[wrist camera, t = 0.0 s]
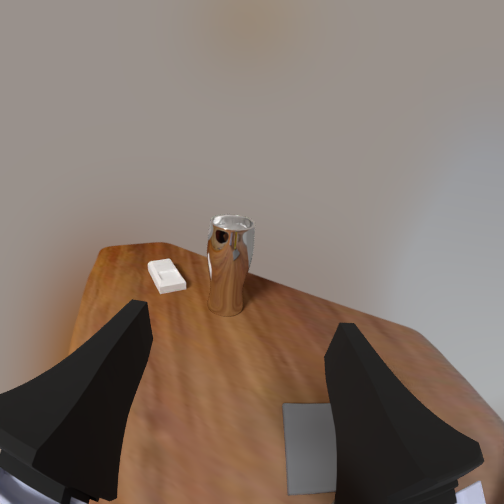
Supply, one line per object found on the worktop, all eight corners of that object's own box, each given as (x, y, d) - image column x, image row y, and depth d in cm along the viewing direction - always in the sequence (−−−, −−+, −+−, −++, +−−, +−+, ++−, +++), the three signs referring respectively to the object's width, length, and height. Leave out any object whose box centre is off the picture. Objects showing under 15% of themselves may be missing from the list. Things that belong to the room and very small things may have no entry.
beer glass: (252, 314, 46) (265, 229, 40) (211, 321, 43) (217, 231, 37) (236, 291, 52) (245, 213, 45) (199, 296, 49) (203, 214, 42)
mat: (400, 478, 20) (403, 476, 19) (287, 495, 19) (289, 494, 19) (377, 402, 31) (379, 400, 30) (282, 405, 30) (283, 403, 30)
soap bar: (170, 267, 57) (170, 256, 56) (186, 290, 50) (186, 278, 49) (148, 271, 55) (147, 259, 53) (160, 295, 48) (159, 283, 47)
